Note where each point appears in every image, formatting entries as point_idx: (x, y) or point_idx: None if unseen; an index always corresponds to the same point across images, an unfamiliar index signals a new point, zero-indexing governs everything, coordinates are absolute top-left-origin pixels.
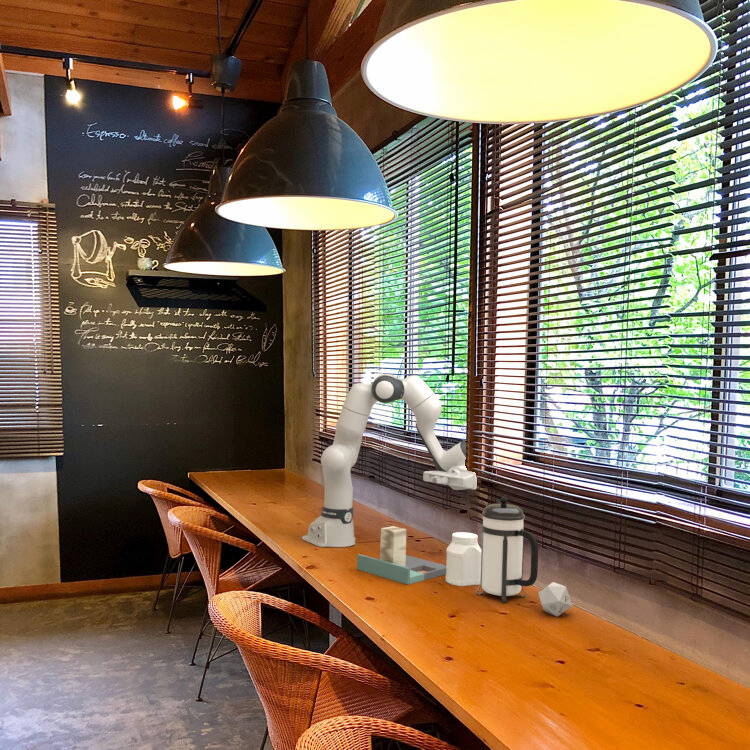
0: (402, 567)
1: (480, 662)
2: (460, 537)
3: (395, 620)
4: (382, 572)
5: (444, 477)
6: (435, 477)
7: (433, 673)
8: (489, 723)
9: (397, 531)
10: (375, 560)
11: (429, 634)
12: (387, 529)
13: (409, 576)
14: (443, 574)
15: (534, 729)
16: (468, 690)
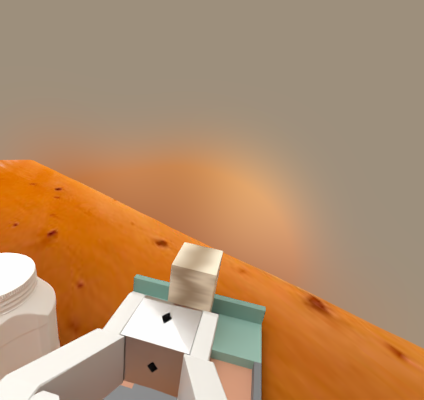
0: (149, 277)
1: (32, 188)
2: (11, 253)
3: (113, 216)
4: None
5: (36, 394)
6: (185, 340)
7: (69, 180)
8: (38, 164)
9: (181, 248)
10: (215, 295)
11: (76, 205)
12: (206, 249)
13: (134, 288)
14: None
15: (13, 163)
16: (46, 174)
